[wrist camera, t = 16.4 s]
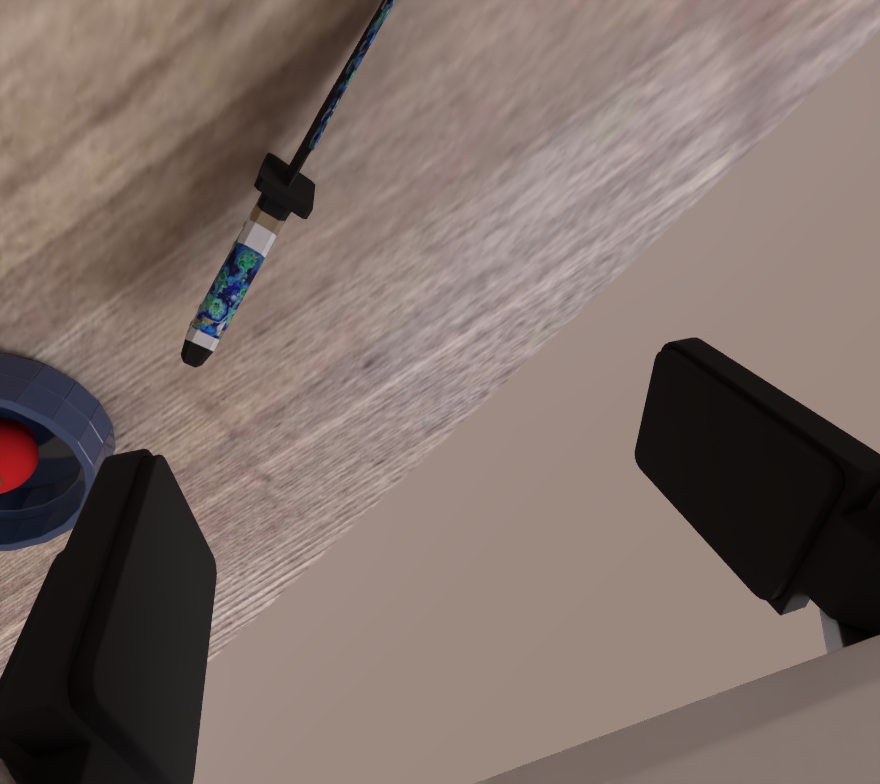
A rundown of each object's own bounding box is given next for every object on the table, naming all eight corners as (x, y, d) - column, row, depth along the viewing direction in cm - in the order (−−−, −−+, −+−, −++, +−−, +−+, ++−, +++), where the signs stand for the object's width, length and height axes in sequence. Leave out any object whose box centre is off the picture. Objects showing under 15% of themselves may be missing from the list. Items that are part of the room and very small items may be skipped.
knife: (205, 350, 33) (202, 378, 29) (158, 326, 31) (148, 353, 27) (492, -89, 27) (532, -123, 24) (453, -144, 26) (490, -190, 22)
